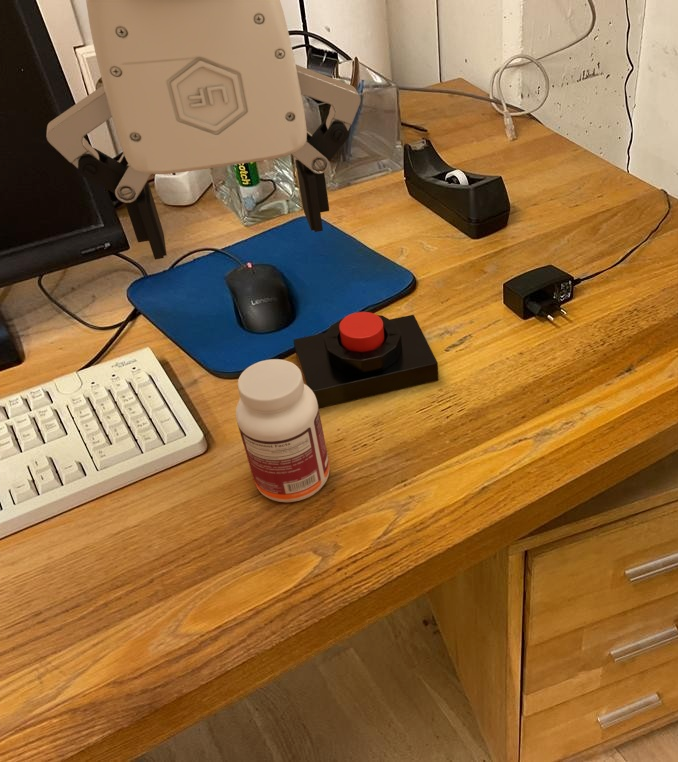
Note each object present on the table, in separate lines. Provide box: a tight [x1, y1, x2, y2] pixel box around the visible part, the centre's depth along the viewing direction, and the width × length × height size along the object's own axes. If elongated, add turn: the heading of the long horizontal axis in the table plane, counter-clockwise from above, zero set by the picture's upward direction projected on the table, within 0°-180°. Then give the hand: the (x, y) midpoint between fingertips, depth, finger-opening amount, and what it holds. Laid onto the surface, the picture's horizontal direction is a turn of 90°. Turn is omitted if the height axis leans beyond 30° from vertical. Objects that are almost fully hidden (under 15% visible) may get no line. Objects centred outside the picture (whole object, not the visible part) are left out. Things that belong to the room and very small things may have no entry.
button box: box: [292, 314, 439, 409], centre depth 77 cm, size 12×8×4 cm, turn 111°
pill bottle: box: [235, 358, 331, 503], centre depth 64 cm, size 6×6×11 cm
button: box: [339, 311, 384, 352], centre depth 75 cm, size 4×4×2 cm
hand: (238, 234), depth 52 cm, fingers open, 9 cm apart
